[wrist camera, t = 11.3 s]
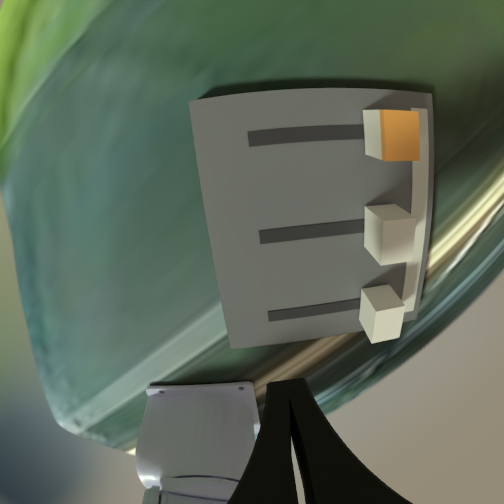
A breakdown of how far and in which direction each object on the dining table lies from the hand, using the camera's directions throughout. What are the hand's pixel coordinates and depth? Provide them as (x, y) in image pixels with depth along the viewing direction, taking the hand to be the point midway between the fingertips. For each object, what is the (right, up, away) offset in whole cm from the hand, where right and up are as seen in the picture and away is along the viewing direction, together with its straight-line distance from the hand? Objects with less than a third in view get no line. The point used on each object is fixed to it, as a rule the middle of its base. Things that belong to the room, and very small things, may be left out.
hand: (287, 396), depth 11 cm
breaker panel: (+3, +7, +8) cm, 11 cm away
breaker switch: (+6, +12, +4) cm, 14 cm away
